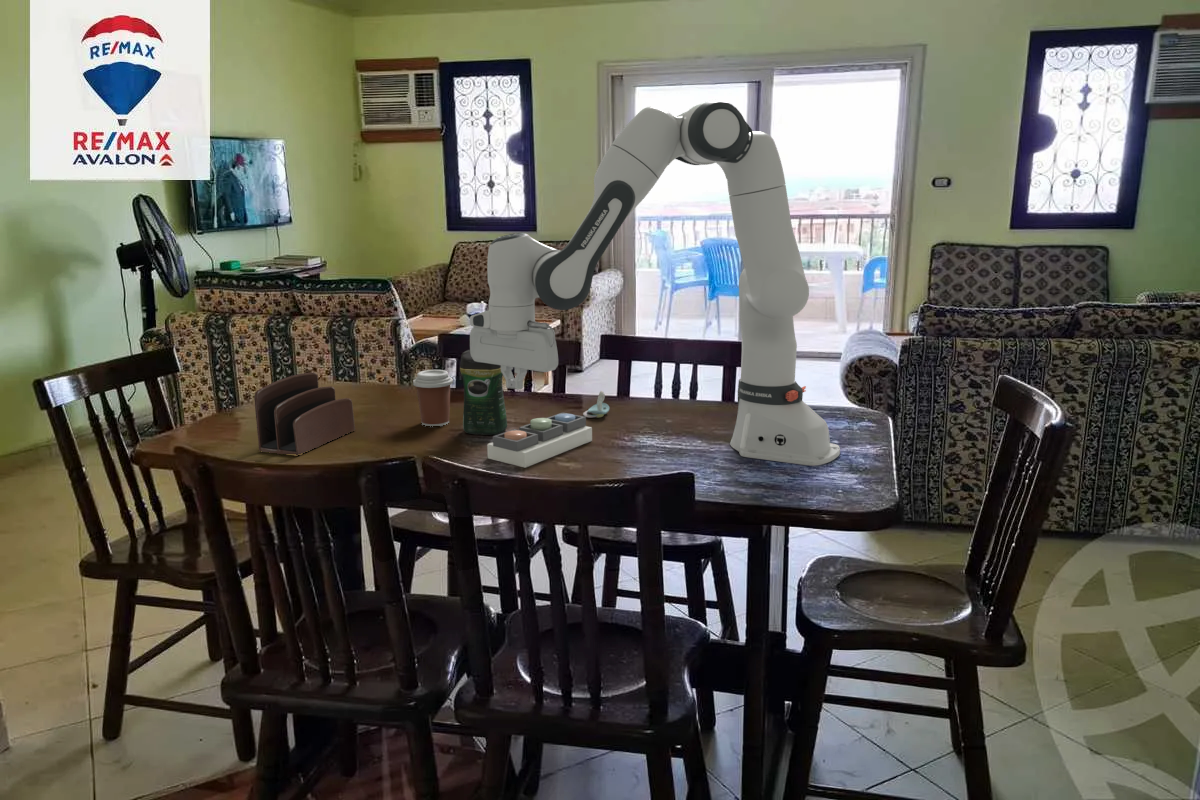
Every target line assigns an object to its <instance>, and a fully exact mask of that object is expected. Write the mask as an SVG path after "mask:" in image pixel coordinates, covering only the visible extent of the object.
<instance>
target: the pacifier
mask: <svg viewBox="0 0 1200 800" xmlns="http://www.w3.org/2000/svg"><path fill="white" fill-rule="evenodd" d="M605 397H606V396H605V393H604V391H603V390H600V391H599V393H598V396H597V401H596V404H593V405H592V406H590V407H589V408H588V410H585V411H584V412H582V416H583V417H586V418H590V419H591V418H592V419H593V418H597V419H598V418H602V417H604V415H606V414H607V413H608V412H609V411H610V406H609V404H607V403H606V402H604V400H605Z"/></svg>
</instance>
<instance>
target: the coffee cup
mask: <svg viewBox="0 0 1200 800" xmlns="http://www.w3.org/2000/svg"><path fill="white" fill-rule="evenodd" d="M416 375H417V376H416V377H415V379H413V380H412V381H413V382H412V383H413V386H414V387H416V392H417V394H416V395H417V400H418V408H419V415H420V421H421V423H422V424H421V425H422V426H423V425H425V426H424V427H426V426H430V427H429V428H434V427H433V426H440V427H444V426H443V425H445V426H447V425H448V423H449V424H450V412H451V411H450V410H451V409H450V407H451V385H452V384H454V379H453V378H452V377H451V376H450V375H449V372H448V371H447V370H445V369H444V370H443V369H428V370H427V369H426V370H422V371H419V372H417V373H416ZM446 424H447V425H446ZM431 426H432V427H431Z"/></svg>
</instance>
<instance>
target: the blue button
mask: <svg viewBox="0 0 1200 800" xmlns="http://www.w3.org/2000/svg"><path fill="white" fill-rule="evenodd" d="M557 414H558V415H557ZM557 414H554V415H555V420H557V421H562V422H570V421H573V420H575V415H576V414H572V413H568V414H560V413H557Z"/></svg>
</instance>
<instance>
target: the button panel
mask: <svg viewBox="0 0 1200 800" xmlns="http://www.w3.org/2000/svg"><path fill="white" fill-rule="evenodd" d="M558 414H569V413H567V412H560V413H557V414H554V415H552V416H548V417H547V418H548V419H551V420H552V428H550V429H548V430H545V431H539V430H535V429H531V424H530V423H527V424H524V425H522V426H519V427H518V429H515V428H512V429H510V430H507V431H504V432H502V433H498V434H494V435H493V436H492V442H489V443H487V459H489V460H493V461H498V462H501V463H505V464H509V465H513V466H516V467H521V468H528V467H531V466H533V465H535V464H538V463H540V462H543V461H546V460H548V459H550V458H553V457H556V456H558V455H560V454H562V453H565V452H568V451H570V450H572V449H576V448H577V447H581V446H582V445H585V444H588V443H591V442H593V427H592V426H587V417H585V416H584V415H578V414H574V415H575V420H573V421H570V422H562V421H557V420H555V415H558ZM516 430H518V431H524V432H526V435H527V437H525V438H523V439H520V440H517V441H516V440H512V439H507V438H505V437H504V434H505V433H506V432H508V431H516Z"/></svg>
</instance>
